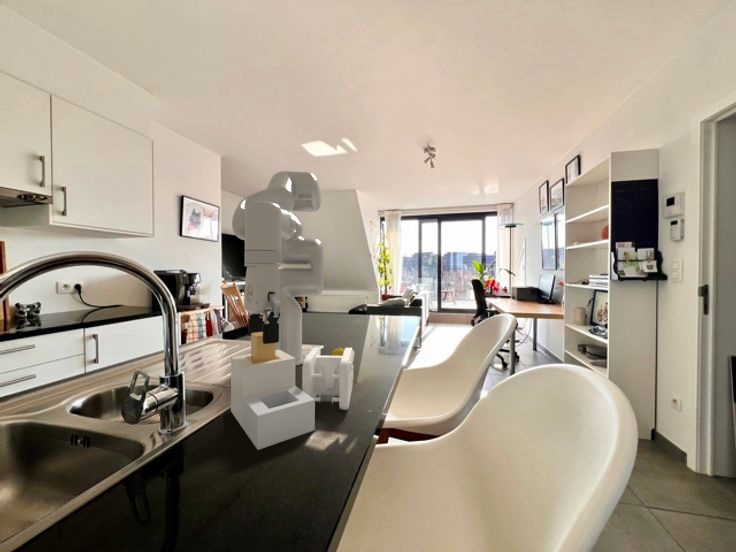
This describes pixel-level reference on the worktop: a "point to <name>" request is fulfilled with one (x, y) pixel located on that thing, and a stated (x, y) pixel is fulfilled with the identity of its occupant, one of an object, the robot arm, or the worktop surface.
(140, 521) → the worktop surface
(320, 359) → the cable organizer
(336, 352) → the lemon
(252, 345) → the plug
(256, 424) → the stepped foam insert
